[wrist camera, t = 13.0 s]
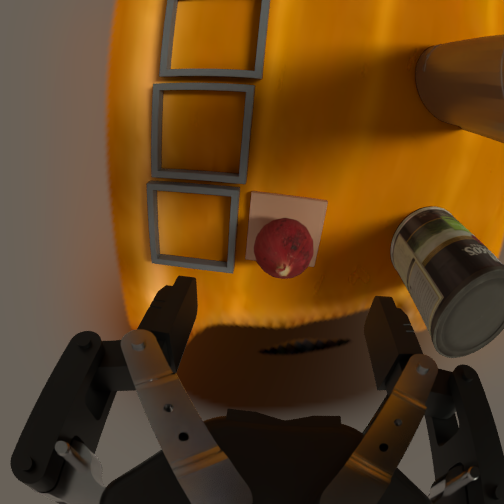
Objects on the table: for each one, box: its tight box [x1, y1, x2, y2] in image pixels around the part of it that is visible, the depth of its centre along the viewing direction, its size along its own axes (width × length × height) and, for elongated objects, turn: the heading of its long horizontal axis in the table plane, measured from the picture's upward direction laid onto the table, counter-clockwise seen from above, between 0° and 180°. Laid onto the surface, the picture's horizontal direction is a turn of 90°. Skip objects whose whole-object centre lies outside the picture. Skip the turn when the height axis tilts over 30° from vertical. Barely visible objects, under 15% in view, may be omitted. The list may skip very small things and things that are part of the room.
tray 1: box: [159, 0, 270, 79], centre depth 22 cm, size 10×10×1 cm
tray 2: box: [151, 83, 255, 184], centre depth 28 cm, size 10×10×1 cm
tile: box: [245, 191, 328, 267], centre depth 33 cm, size 8×8×1 cm
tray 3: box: [147, 181, 240, 273], centre depth 33 cm, size 10×10×1 cm
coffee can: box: [391, 207, 504, 358], centre depth 26 cm, size 10×10×14 cm
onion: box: [254, 218, 314, 279], centre depth 29 cm, size 6×6×8 cm
